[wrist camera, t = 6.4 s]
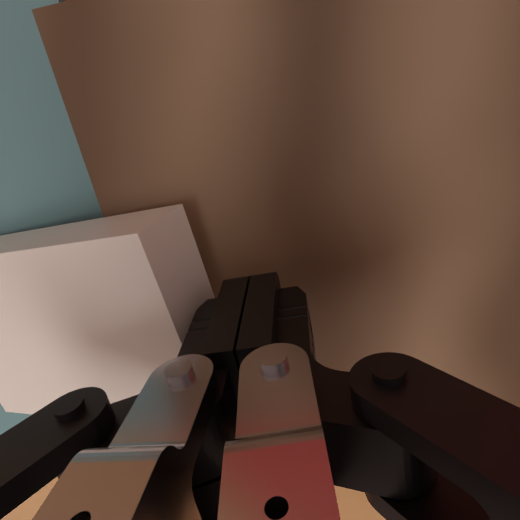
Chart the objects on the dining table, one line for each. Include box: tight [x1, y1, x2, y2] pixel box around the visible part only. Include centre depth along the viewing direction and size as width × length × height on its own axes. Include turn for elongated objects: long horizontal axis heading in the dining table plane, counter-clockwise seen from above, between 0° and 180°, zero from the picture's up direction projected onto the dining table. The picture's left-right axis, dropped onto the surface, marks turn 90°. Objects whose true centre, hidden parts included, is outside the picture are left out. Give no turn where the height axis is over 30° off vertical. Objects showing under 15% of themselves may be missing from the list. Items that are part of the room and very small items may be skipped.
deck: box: [32, 0, 520, 408], centre depth 13 cm, size 13×16×2 cm
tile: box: [0, 204, 215, 414], centre depth 13 cm, size 9×6×2 cm, turn 105°
